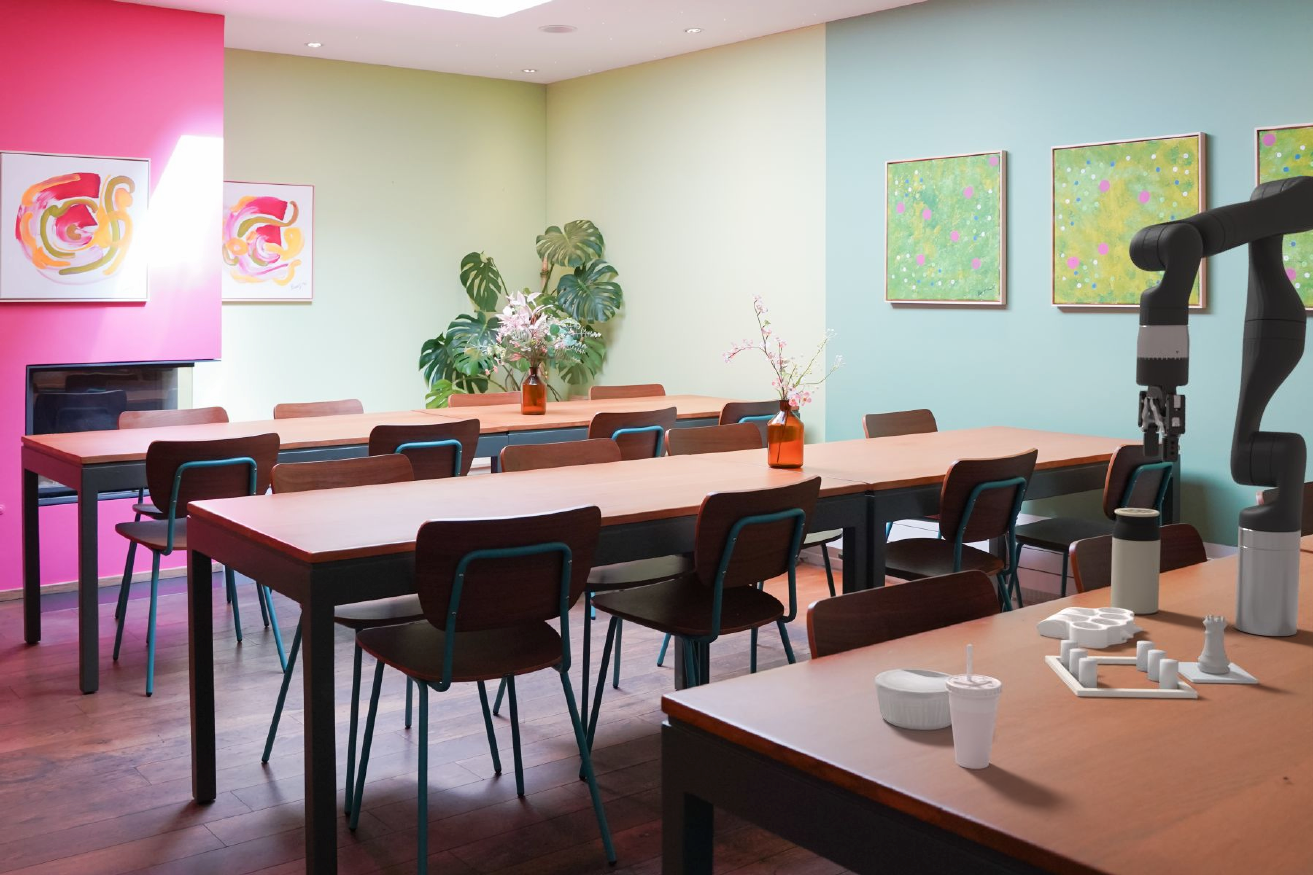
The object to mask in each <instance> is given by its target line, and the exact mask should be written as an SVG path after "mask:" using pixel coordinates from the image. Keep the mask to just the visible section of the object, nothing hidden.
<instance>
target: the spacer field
mask: <svg viewBox="0 0 1313 875" xmlns="http://www.w3.org/2000/svg"><path fill="white" fill-rule="evenodd" d="M1155 645H1156V644H1155V642H1153V641H1150V640H1138V641H1137V642H1136V656H1105V655H1104V656H1099V655H1097V656H1095V655H1093V656H1092V655H1090V656H1089V655H1088V650H1087V649H1083V648H1079V646H1078V642H1077V641H1074V640H1067V639H1062V640H1060V655H1045V656H1044V661H1045V663H1047V665H1048V666H1049V667H1050V668H1051V669H1052V670H1053V672H1055V673H1056V675H1057V676H1058V677H1059V679H1061V680H1062V681H1063V682H1064V683H1065V684H1066V685H1067V687H1068V688H1069V689H1070V690H1071V691H1072V692H1073V693H1074V695H1076V697H1099V698H1101V697H1102V698H1109V697H1110V698H1111V697H1112V698H1161V699H1162V698H1163V699H1164V698H1165V699H1167V698H1169V699H1176V698H1177V699H1198V696H1199V695H1198V691H1197V690H1195V689H1194V688H1193V687H1191V686H1190V685H1189V684H1188V683H1187V682H1185V681H1184V680H1183V679H1182V678H1181V677H1180V676H1179V672H1178V666H1179V662H1180V661H1179V660H1176V659H1173V658H1167V651H1165V650H1161V649H1155ZM1099 664H1101V665H1103V664H1104V665H1106V664H1107V665H1109V664H1110V665H1135V666H1136V668H1135V669H1136V670H1138V671H1140V672H1145V673H1146V672H1147V678H1146V679H1147V680H1149V681H1152V682H1159V683H1158V684H1159V685H1158V688H1155V689H1154V688H1109V687H1108V688H1101V687H1099V688H1098V665H1099Z"/></svg>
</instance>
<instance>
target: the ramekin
mask: <svg viewBox="0 0 1313 875" xmlns="http://www.w3.org/2000/svg"><path fill="white" fill-rule="evenodd" d="M951 676H953V675H952V674H949V673H945V672H940V671H937V670H929V669H923V668H922V669H920V668H900V669H899V668H898V669H897V668H896V669H891V670H890V669H889V670H886V671H883V672H881V673H879V674H877V675H876V677H875V678H874V687H875V689H876V694H877V700H878V701H877V703H878V706H879V707H878V709H879V713H880V715H881V717H883V719H884V720H885V722H887V723H888V724H891V725H893V726H895V727H899V728H902V729H903V728H904V729H909V730H919V731H920V730H921V731H930V730H931V731H932V730H940V729H944V728H947V727H950V726H952V721H951V712H950V704H949V693H948V691H947V690H946V689H945V687H946V679H947V678H949V677H951Z"/></svg>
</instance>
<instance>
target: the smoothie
mask: <svg viewBox="0 0 1313 875" xmlns="http://www.w3.org/2000/svg"><path fill="white" fill-rule="evenodd" d="M972 667H973V645H972V644H970V643H969V644H967V645H966V673H962V674H955V675H952V676H951V677H949V678H947V679H946V687H945V689H946V690H947V691H948V693H949V704H950V712H951V721H952V724H951V727H952V728H951V729H952V736H953V737H952V738H953V747H954V756H955V763H956V765H958V766H960V767H962V768H965V769H971V770H974V769H975V770H978V769H979V770H980V769H981V770H982V769H986V768H987V767H989V765H990V758H991V752H992V745H993V738H994V732H995V727H996V725H995V724H996V718H997V712H998V708H999V707H998V706H999V697H1000V695H1001V694H1003V683H1002V682H1001V681H1000V680H999V679H997V678H995V677H991V676H987V675H982V674H975V673H974V674H973V672H972V671H973V668H972Z"/></svg>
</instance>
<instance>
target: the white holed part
mask: <svg viewBox="0 0 1313 875" xmlns="http://www.w3.org/2000/svg"><path fill="white" fill-rule="evenodd" d="M1036 630H1037V632H1038V633H1039V634H1040V635H1042V636H1044V637H1049V638H1057V639H1062V640H1074V641H1077V642H1078V647H1081V648H1087V649H1105V648H1106V649H1107V648H1108V647H1109V646H1112V645H1120V644H1125V643H1127V642H1128V639H1134V634H1137V633H1139V632H1142V631H1144V628H1142V627H1140V626H1138V625H1137V624H1135V614H1134V613H1133V612H1132V611H1130V610H1126V609H1121V608H1111V606H1110V607H1098V608H1087V607H1079V606H1075V607H1074V606H1073V607H1072V606H1071V607H1066V608H1064V609H1062V610H1059V612H1056V613H1054V614H1053V615H1051V616H1048V617H1047V618H1045V619H1044V620H1041V621H1039V622H1037V623H1036Z"/></svg>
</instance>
